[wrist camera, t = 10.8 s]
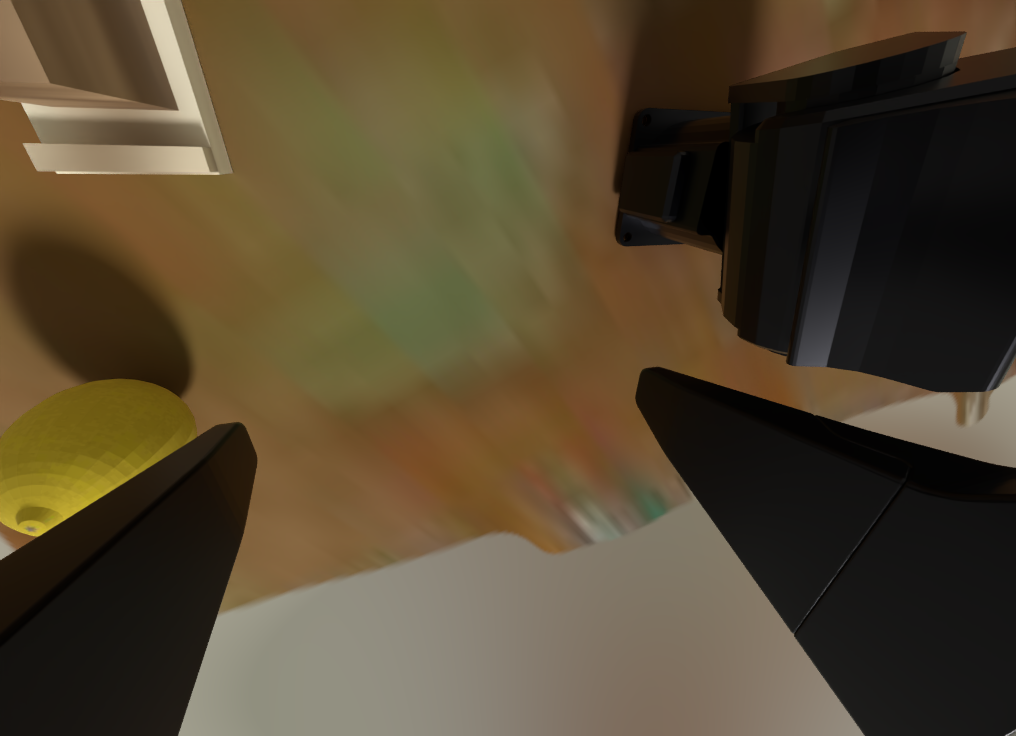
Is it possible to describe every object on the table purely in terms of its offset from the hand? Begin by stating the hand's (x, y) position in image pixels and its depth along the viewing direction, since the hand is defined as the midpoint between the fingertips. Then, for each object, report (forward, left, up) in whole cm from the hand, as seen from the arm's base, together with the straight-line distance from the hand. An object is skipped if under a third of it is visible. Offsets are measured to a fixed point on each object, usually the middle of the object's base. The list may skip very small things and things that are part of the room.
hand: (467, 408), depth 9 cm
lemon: (+14, +6, -13) cm, 20 cm away
